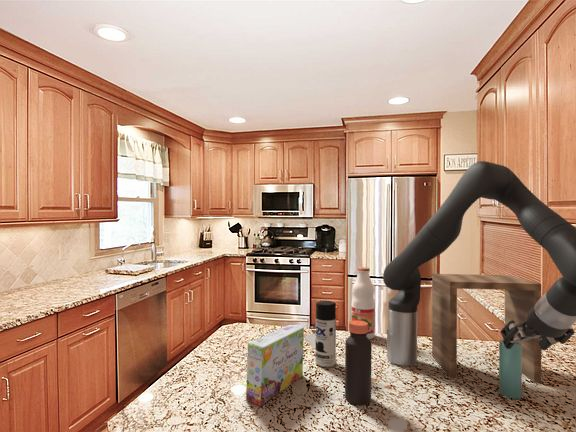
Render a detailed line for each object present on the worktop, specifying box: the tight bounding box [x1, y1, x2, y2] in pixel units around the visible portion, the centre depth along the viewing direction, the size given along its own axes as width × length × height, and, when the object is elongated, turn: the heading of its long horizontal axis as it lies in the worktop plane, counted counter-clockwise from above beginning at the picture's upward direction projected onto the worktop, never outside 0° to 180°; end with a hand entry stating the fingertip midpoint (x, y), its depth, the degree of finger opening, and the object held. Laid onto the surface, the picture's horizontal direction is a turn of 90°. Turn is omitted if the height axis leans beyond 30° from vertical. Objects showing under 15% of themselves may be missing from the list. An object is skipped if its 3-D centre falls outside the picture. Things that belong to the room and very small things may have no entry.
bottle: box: [344, 320, 373, 406], centre depth 91 cm, size 7×7×20 cm
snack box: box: [245, 324, 305, 407], centre depth 97 cm, size 21×6×15 cm, turn 148°
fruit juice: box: [351, 266, 376, 340], centre depth 142 cm, size 9×9×28 cm
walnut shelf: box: [431, 273, 542, 384], centre depth 111 cm, size 26×16×29 cm, turn 85°
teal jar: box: [498, 339, 523, 400], centre depth 95 cm, size 5×5×14 cm
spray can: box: [314, 300, 337, 368], centre depth 114 cm, size 7×7×20 cm
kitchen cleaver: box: [304, 325, 316, 350], centre depth 139 cm, size 24×1×10 cm
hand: (523, 346), depth 89 cm, fingers open, 8 cm apart
